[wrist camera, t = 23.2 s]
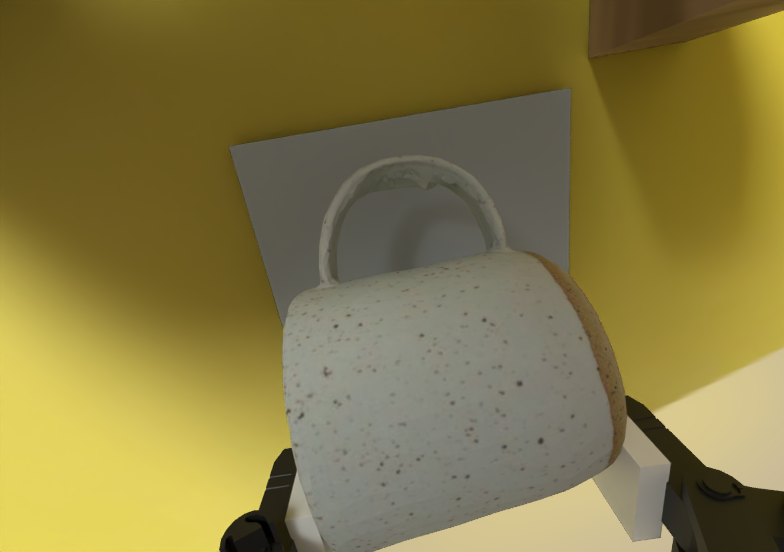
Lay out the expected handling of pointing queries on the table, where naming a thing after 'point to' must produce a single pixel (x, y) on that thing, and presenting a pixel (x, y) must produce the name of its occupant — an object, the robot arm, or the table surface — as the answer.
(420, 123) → the mat
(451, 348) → the ceramic mug
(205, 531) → the table surface
